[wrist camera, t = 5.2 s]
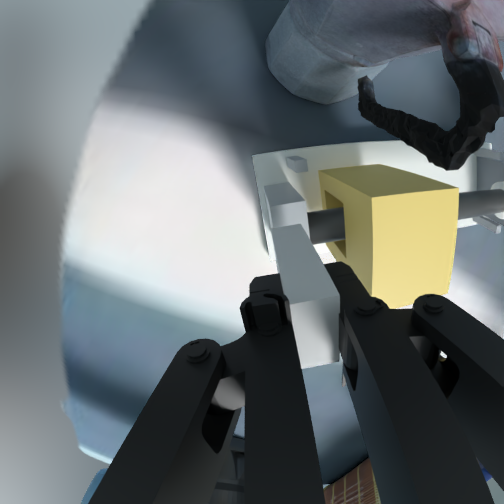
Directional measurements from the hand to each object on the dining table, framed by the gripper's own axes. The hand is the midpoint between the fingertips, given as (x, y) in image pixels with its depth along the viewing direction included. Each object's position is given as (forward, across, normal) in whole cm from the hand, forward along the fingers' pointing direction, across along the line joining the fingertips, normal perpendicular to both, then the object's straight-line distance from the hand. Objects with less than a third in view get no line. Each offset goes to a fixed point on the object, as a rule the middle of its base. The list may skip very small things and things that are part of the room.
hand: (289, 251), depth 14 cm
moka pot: (+10, +6, +12) cm, 17 cm away
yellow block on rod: (+7, +6, 0) cm, 9 cm away
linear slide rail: (+10, +12, 0) cm, 16 cm away
